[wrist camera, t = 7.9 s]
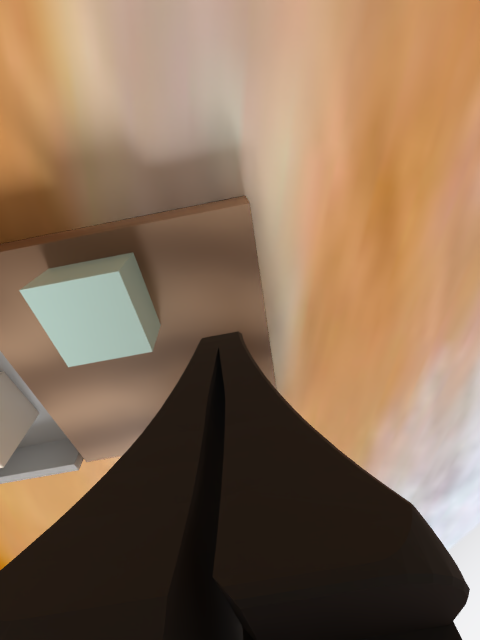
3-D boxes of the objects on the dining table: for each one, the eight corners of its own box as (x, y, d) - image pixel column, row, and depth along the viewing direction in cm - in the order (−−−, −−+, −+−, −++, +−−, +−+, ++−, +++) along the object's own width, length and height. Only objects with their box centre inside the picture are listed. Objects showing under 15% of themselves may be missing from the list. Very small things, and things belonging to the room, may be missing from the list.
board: (276, 404, 25) (281, 427, 23) (96, 436, 25) (86, 462, 23) (245, 195, 16) (249, 203, 14) (-32, 250, 16) (-67, 265, 14)
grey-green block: (160, 325, 17) (152, 351, 15) (87, 338, 17) (68, 367, 15) (133, 252, 15) (118, 271, 12) (48, 268, 15) (19, 290, 13)
